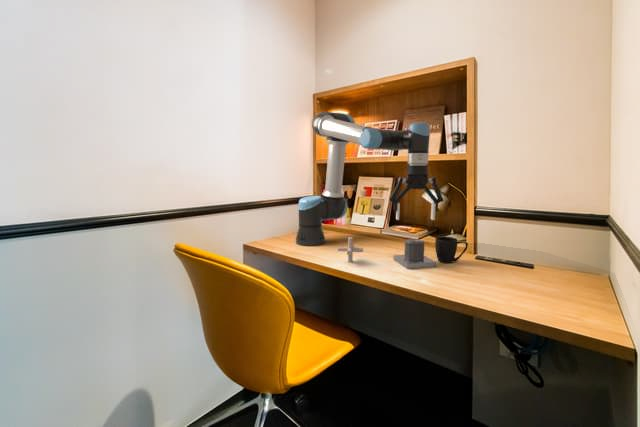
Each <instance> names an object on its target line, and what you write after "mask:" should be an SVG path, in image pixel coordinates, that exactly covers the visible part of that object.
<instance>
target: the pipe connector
mask: <svg viewBox="0 0 640 427" xmlns="http://www.w3.org/2000/svg"><path fill="white" fill-rule="evenodd" d="M347 240H348V241H347V243H348V244H347V246H338V247H337V251H338V252H346V255H347V262H348V263H353V262H354V261H353V260H354V259H353V253H363V252H364V248H363V247H355V246H354V245H353V244H354V243H353V242H354V241H353V240H354V237H351V236H349V237H348V239H347Z"/></svg>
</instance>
